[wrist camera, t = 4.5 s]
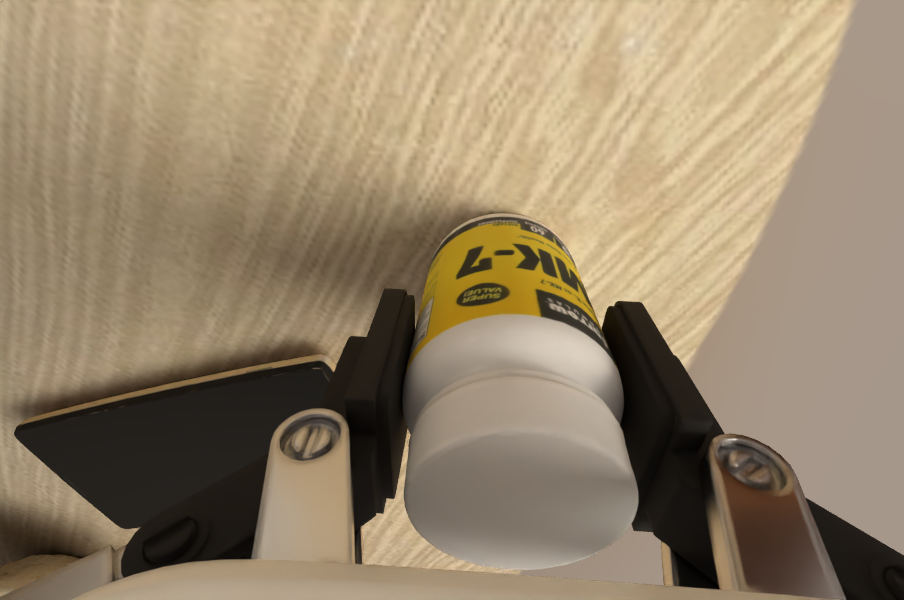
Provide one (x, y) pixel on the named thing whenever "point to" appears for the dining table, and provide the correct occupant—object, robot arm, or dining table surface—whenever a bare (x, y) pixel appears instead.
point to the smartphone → (172, 435)
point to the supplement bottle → (513, 405)
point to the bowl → (30, 570)
